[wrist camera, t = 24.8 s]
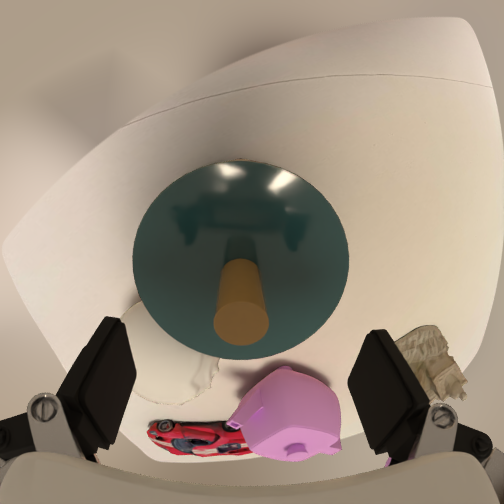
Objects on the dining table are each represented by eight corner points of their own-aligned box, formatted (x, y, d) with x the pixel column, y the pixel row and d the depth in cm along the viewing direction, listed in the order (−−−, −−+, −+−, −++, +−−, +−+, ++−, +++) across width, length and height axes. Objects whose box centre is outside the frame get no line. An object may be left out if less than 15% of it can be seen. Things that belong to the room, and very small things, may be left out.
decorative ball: (206, 364, 36) (198, 434, 25) (125, 336, 34) (95, 399, 23) (235, 298, 32) (234, 371, 21) (139, 264, 30) (96, 322, 19)
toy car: (142, 417, 41) (137, 437, 37) (256, 415, 41) (258, 438, 36) (160, 440, 45) (156, 459, 40) (262, 439, 44) (264, 459, 40)
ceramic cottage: (361, 356, 37) (403, 434, 23) (444, 309, 35) (498, 366, 22) (368, 401, 43) (396, 462, 29) (437, 362, 42) (473, 413, 28)
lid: (110, 291, 18) (73, 341, 13) (208, 116, 15) (190, 96, 9) (264, 372, 22) (270, 431, 16) (380, 242, 18) (429, 281, 12)
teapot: (352, 384, 39) (376, 444, 27) (302, 422, 43) (313, 478, 31) (257, 337, 34) (264, 417, 23) (207, 386, 38) (201, 456, 26)
